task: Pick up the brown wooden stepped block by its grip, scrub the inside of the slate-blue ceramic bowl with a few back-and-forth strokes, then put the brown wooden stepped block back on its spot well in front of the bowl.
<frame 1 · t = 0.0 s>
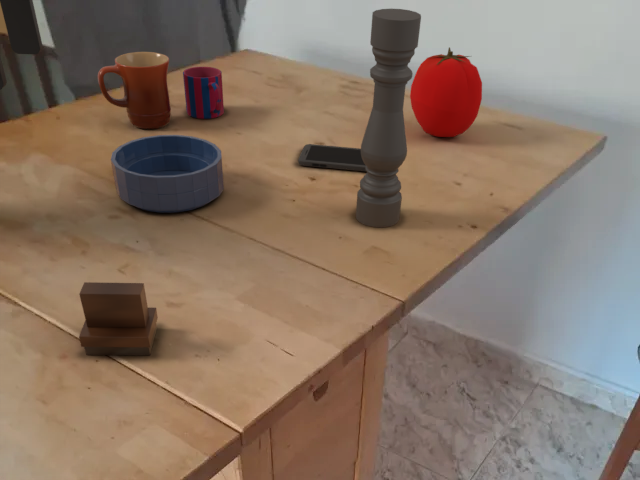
hand: (10, 69, 50), 28 cm above the table, tool pointing down, fingers open, 8 cm apart
cup: (208, 116, 124), on the table
brown wooden stepped block: (122, 341, 73), on the table
candle holder: (377, 218, 96), on the table
cell phone: (343, 161, 110), on the table
bowl: (171, 192, 100), on the table
mug: (141, 125, 119), on the table
tomato: (440, 135, 121), on the table
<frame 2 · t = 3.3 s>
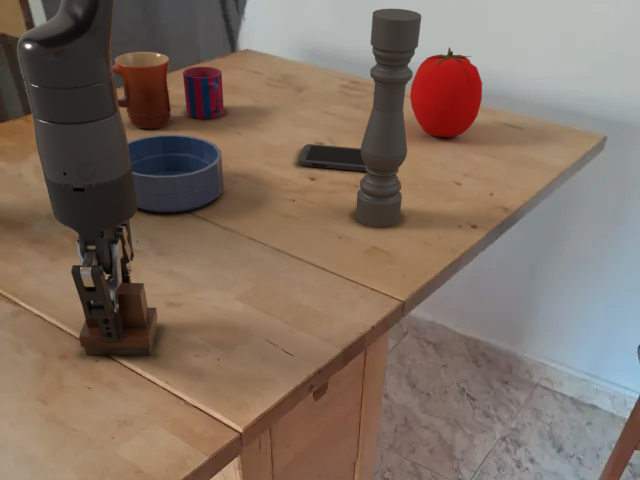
hand: (119, 323, 72), 2 cm above the table, tool pointing down, fingers closed on brown wooden stepped block, 5 cm apart
brown wooden stepped block: (122, 341, 73), on the table, touching gripper
everything else where it was.
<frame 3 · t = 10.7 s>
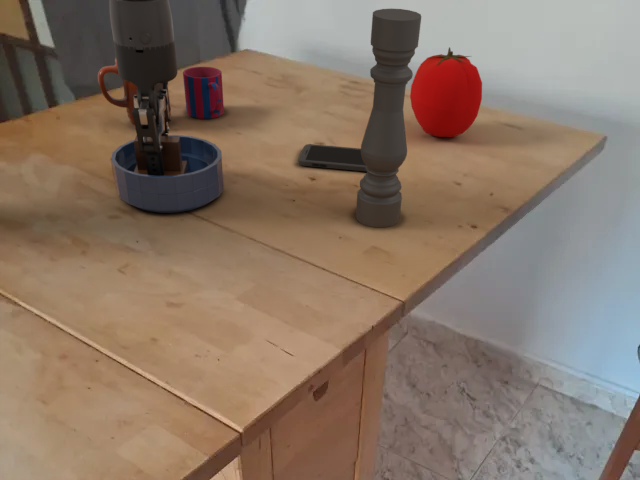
hand: (159, 168, 97), 4 cm above the table, tool pointing down, fingers closed on brown wooden stepped block, 5 cm apart
brown wooden stepped block: (162, 184, 99), point 1 cm above the table, touching gripper
everything else where it was.
when the fingers open (2 cm above the table, at t = 18.5 s): brown wooden stepped block stays where it is, on the table.
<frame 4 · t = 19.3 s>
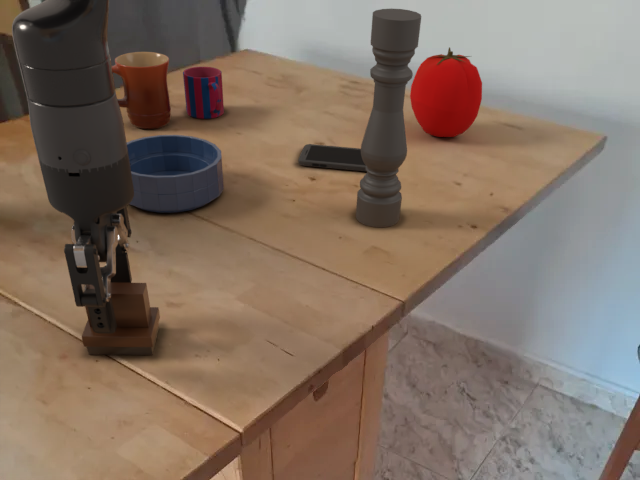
hand: (113, 307, 70), 4 cm above the table, tool pointing down, fingers open, 8 cm apart
brown wooden stepped block: (124, 340, 73), on the table
everything else where it was.
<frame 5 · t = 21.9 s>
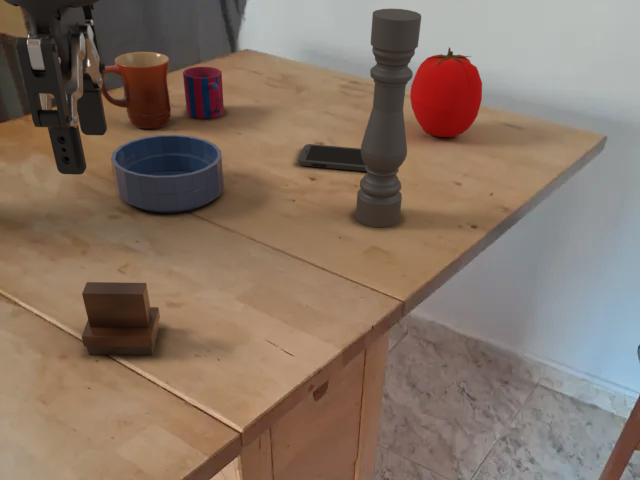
hand: (84, 152, 59), 20 cm above the table, tool pointing down, fingers open, 8 cm apart
nothing on the table moved.
at the end: brown wooden stepped block tilted 0°; the gripper is holding nothing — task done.
